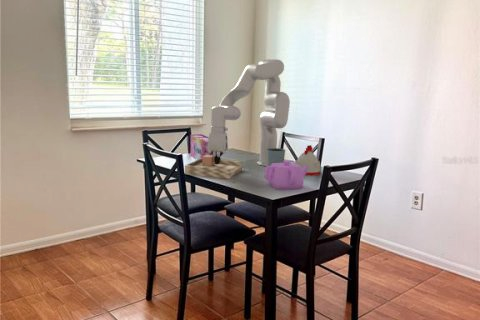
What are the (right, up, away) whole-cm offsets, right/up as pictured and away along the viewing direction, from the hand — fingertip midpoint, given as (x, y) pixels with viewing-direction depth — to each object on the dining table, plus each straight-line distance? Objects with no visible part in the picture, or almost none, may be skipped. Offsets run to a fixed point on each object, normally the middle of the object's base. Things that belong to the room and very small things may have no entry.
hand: (217, 163), depth 228 cm
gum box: (-11, +3, +33) cm, 35 cm away
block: (-5, -1, +1) cm, 5 cm away
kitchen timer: (+49, -5, +3) cm, 49 cm away
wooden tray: (-1, -4, -3) cm, 6 cm away
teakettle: (+34, -11, -27) cm, 45 cm away
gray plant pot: (+31, -4, +4) cm, 32 cm away
